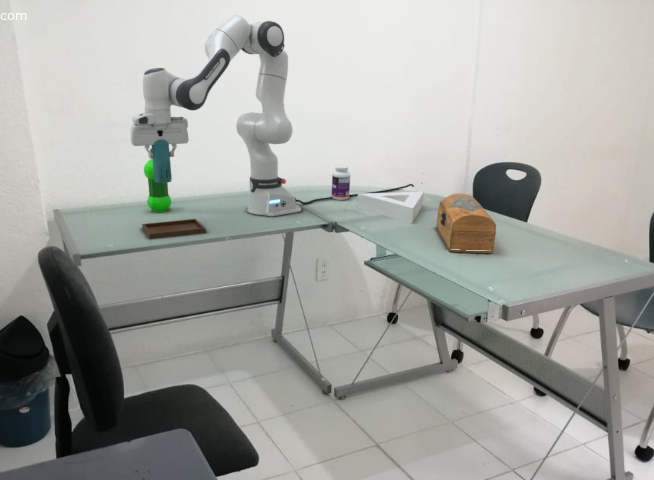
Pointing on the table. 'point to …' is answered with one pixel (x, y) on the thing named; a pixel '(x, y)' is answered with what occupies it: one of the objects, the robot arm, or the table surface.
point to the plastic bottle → (156, 190)
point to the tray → (173, 228)
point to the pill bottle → (340, 183)
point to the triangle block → (392, 204)
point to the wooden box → (465, 224)
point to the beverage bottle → (161, 160)
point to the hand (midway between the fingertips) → (161, 157)
